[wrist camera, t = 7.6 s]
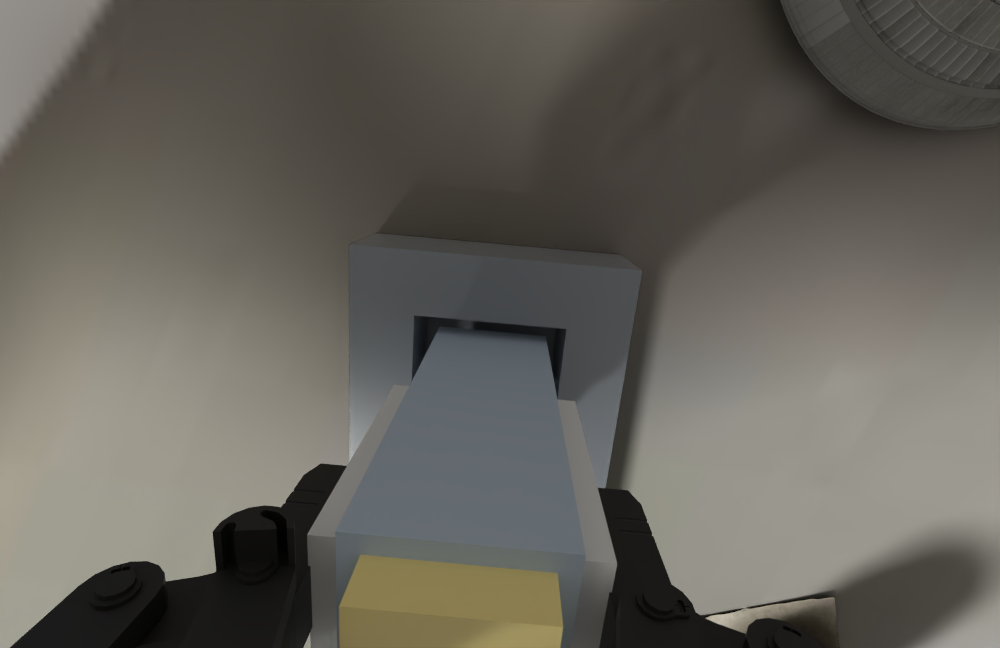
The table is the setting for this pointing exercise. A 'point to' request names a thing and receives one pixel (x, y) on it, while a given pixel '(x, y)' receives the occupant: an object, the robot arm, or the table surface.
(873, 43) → the flying saucer
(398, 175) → the table surface
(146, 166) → the table surface
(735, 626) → the condiment
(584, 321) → the panel
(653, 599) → the robot arm
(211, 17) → the table surface
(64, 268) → the table surface
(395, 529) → the plug
